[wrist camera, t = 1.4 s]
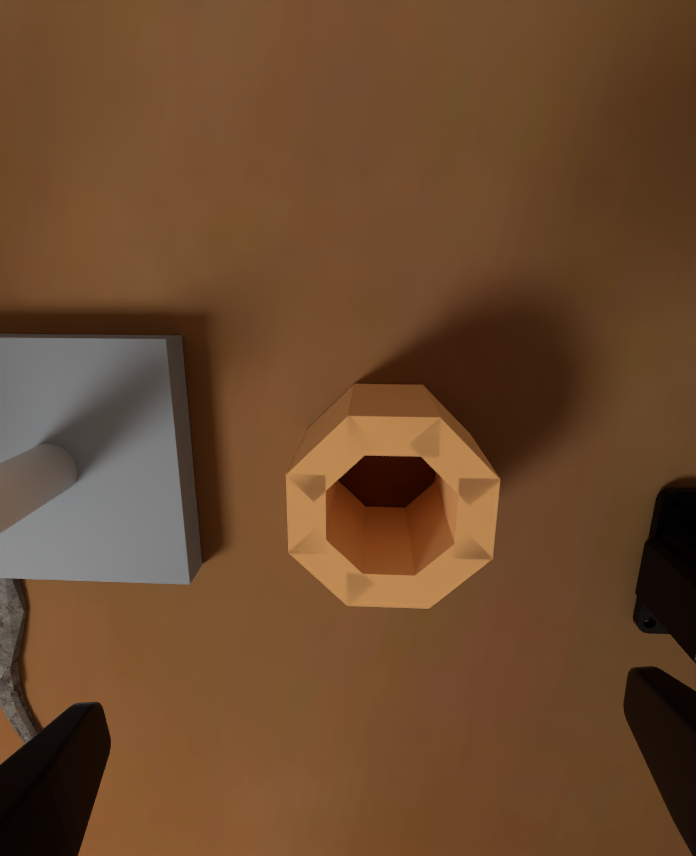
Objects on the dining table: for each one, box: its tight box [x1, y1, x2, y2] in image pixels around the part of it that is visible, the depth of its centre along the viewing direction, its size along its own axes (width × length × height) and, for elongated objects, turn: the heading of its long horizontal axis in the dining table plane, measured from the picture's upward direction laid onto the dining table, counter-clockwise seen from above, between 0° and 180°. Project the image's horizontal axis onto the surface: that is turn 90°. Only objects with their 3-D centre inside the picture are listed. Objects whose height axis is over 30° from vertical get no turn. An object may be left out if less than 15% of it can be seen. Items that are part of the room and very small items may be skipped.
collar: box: [285, 384, 501, 609], centre depth 17 cm, size 6×6×5 cm
